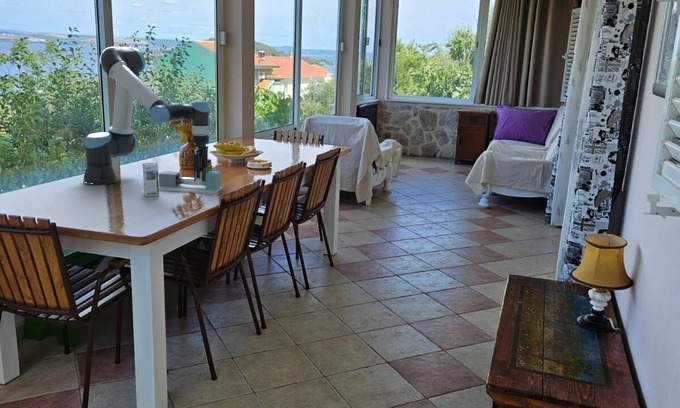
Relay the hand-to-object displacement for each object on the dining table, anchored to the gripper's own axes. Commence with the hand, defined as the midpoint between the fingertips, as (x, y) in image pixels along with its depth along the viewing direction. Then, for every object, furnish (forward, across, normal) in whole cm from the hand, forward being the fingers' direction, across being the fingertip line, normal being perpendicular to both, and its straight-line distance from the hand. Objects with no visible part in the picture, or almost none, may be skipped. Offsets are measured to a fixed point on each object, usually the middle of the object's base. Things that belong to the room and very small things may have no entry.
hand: (201, 183), depth 280 cm
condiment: (+3, +14, +4) cm, 15 cm away
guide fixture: (+3, 0, +6) cm, 6 cm away
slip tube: (+1, 0, +4) cm, 4 cm away
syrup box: (+3, -16, +17) cm, 24 cm away
